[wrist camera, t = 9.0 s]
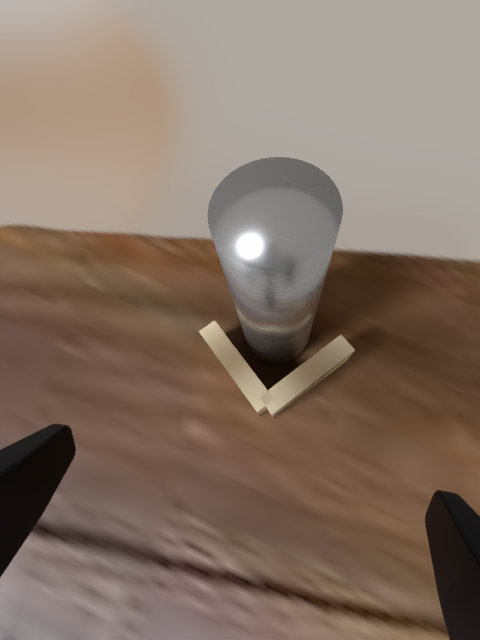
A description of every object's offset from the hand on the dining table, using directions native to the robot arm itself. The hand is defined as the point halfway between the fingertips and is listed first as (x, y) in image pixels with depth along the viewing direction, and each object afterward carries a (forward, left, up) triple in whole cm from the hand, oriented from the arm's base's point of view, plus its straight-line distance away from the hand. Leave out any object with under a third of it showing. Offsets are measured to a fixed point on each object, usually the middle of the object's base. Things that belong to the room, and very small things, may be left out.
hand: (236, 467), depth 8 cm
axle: (+6, +5, -13) cm, 15 cm away
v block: (+4, +3, -13) cm, 14 cm away
